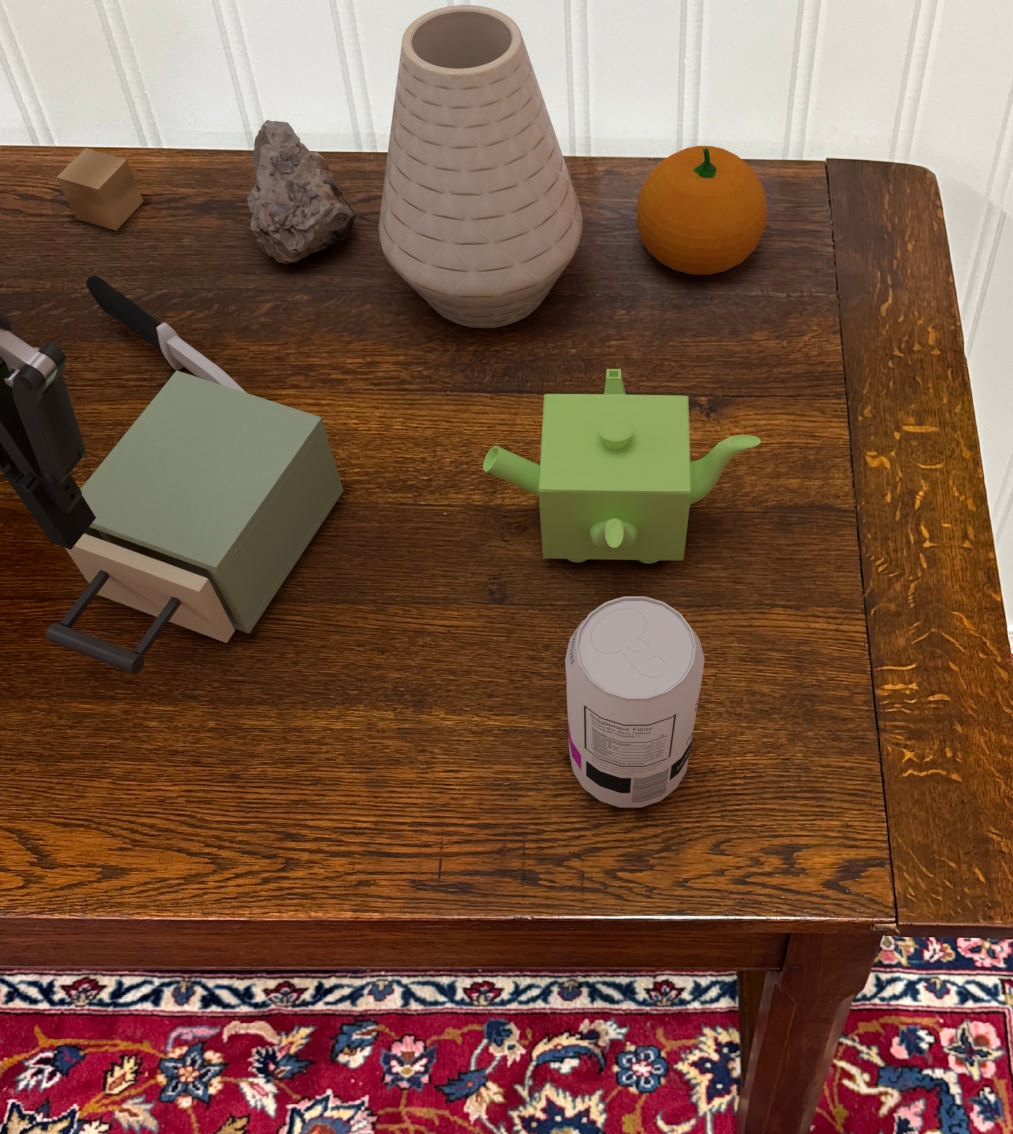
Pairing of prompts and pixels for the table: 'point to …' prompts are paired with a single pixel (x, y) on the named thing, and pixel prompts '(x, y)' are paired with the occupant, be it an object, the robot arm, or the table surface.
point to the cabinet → (219, 487)
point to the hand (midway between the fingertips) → (73, 529)
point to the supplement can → (632, 700)
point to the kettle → (615, 474)
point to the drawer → (140, 597)
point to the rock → (294, 197)
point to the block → (100, 189)
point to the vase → (475, 172)
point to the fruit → (701, 211)
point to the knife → (156, 334)
